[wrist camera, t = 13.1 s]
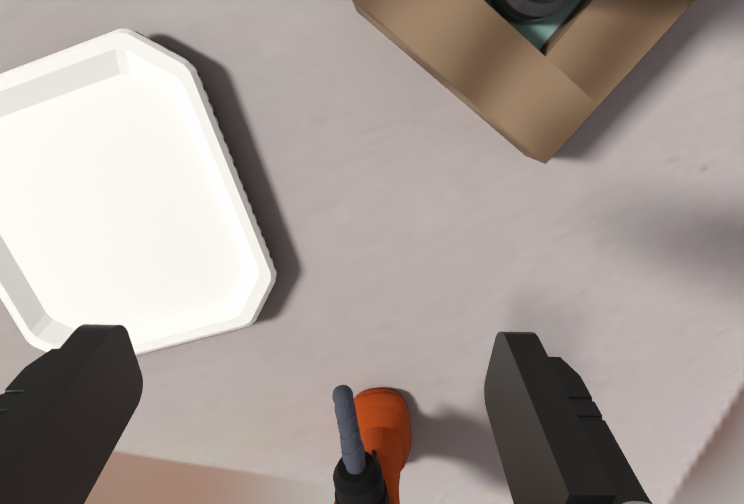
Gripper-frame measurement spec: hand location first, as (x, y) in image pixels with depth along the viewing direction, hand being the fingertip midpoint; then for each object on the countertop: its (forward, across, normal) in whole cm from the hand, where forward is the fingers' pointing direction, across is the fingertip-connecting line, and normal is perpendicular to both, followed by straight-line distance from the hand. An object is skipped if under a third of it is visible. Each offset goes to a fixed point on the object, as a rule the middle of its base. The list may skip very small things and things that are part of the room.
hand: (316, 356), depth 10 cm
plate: (+22, -17, -8) cm, 29 cm away
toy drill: (+18, +3, -20) cm, 27 cm away
